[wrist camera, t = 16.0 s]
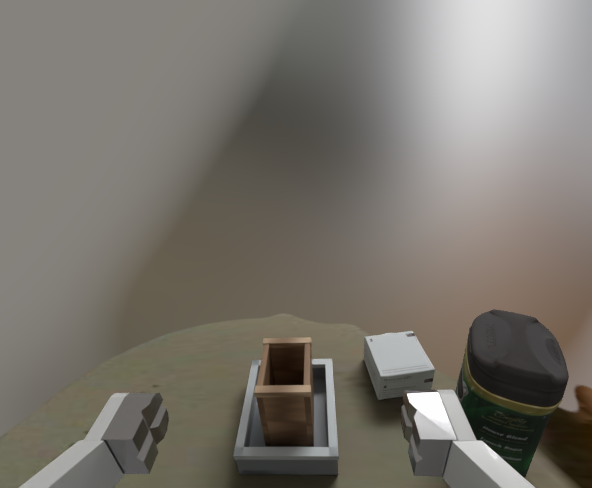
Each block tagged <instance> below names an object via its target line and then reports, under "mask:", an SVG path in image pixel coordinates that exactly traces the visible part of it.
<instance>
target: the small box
mask: <svg viewBox="0 0 592 488" xmlns="http://www.w3.org/2000/svg"><path fill="white" fill-rule="evenodd" d="M364 362H365V364H366V367H367V370H368V373H369V375H370V378H371V381H372V384H373V387H374V390H375V393H376V395H377V398H378V400H382V399H387V398H394V397H402V396H403V392H404V390H431V387H432V382H433V377H434V371H435V369H434V367H433V365H432V363H431V362H430V360H429V358H428V357H427V355H426V353H425V352H424V350H423V348H422V347H421V345H420V343H419V341H418V340H417V338H416V336H415V334H414V333H413V331H410V332H401V333H386V334H383V335H376V336H368V337H364Z"/></svg>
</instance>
